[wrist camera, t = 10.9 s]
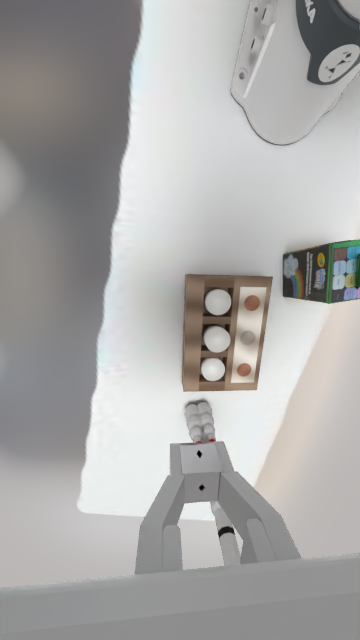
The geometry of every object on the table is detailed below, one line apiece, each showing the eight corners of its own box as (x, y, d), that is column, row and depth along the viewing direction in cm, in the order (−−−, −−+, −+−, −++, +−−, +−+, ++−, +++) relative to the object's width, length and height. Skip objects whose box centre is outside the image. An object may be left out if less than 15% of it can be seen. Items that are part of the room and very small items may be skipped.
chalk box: (322, 291, 39) (413, 300, 25) (281, 297, 39) (349, 309, 24) (325, 247, 37) (426, 227, 22) (282, 252, 36) (357, 236, 22)
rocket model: (200, 427, 45) (261, 702, 16) (176, 413, 43) (195, 689, 14) (218, 405, 44) (319, 659, 15) (194, 391, 42) (254, 641, 13)
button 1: (200, 353, 39) (202, 359, 36) (221, 353, 39) (226, 359, 36) (198, 373, 40) (201, 381, 37) (219, 373, 40) (224, 380, 37)
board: (185, 274, 36) (187, 274, 32) (261, 276, 37) (273, 276, 33) (182, 380, 42) (183, 392, 37) (248, 379, 43) (257, 390, 38)
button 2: (203, 288, 36) (206, 289, 33) (227, 289, 36) (232, 289, 33) (202, 312, 37) (205, 315, 34) (225, 312, 37) (230, 315, 34)
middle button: (203, 324, 36) (206, 328, 33) (226, 324, 36) (231, 328, 33) (201, 346, 37) (204, 352, 34) (224, 346, 37) (229, 352, 34)
